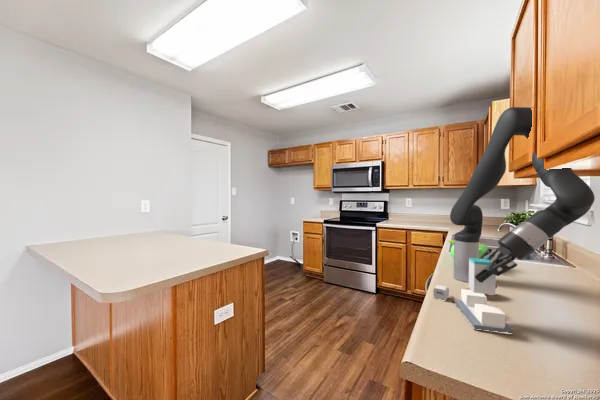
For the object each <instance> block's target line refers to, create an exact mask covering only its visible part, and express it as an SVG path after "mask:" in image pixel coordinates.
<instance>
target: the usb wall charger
mask: <svg viewBox="0 0 600 400" xmlns="http://www.w3.org/2000/svg"><path fill="white" fill-rule="evenodd" d="M449 290H450V289H449V287H448V286H447V285H441V284H437V285H436V286H435V287H434V288H433V299H434V300H438V299H441V300H440V301H442V300H445V301H444V302H446V301H447V299H448V298H449V297H450V296H449V292H450V291H449Z"/></svg>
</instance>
